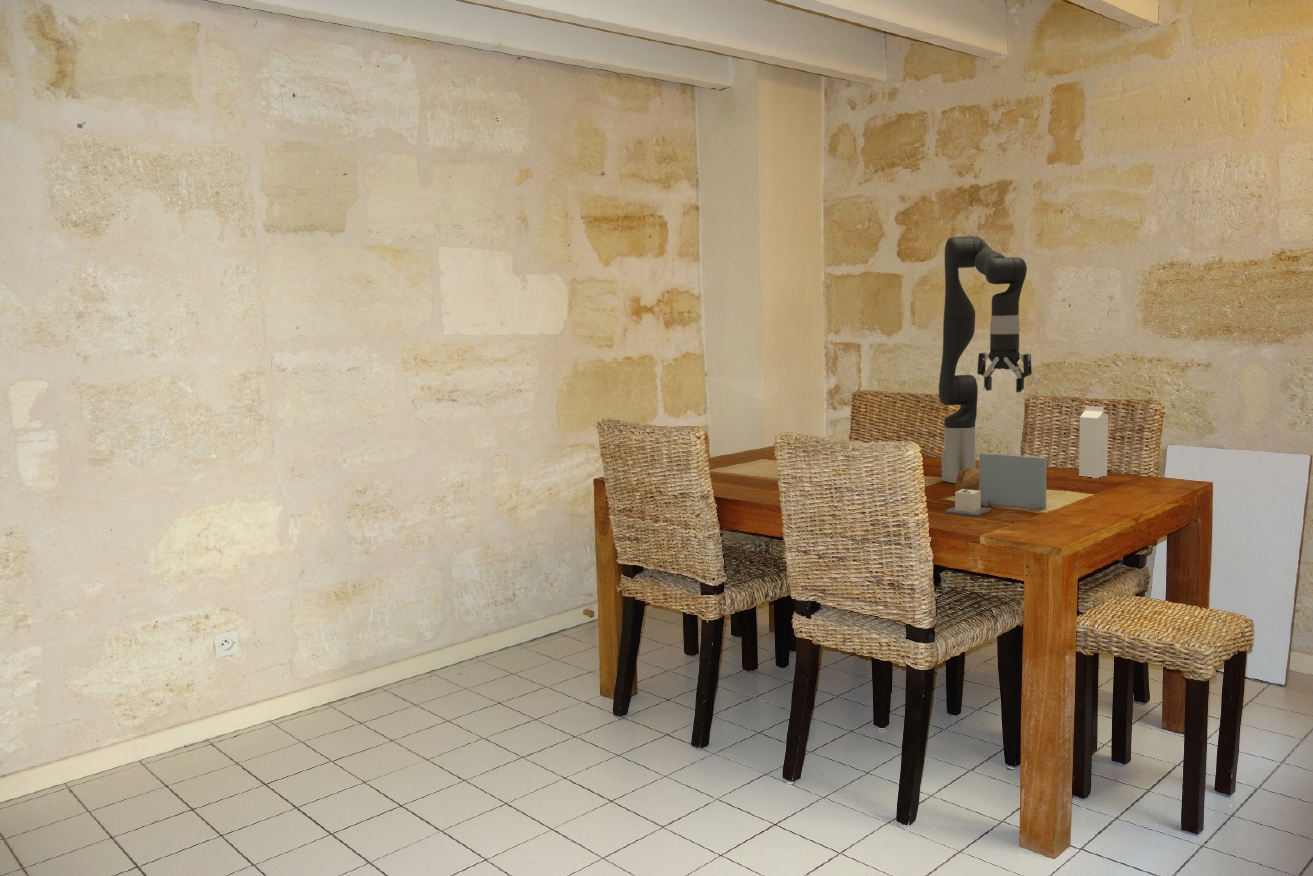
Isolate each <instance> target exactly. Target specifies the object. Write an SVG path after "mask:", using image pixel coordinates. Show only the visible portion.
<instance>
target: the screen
mask: <svg viewBox="0 0 1313 876" xmlns="http://www.w3.org/2000/svg"><path fill="white" fill-rule="evenodd" d="M978 454H979V455H978V459H979V460H978V463H979V464H978V466H979V467H978V468H979V491H981V506H989V505H997V506H1007V507H1017V508H1025V509H1027V508H1028V510H1029V511H1036V512H1038V511H1041V510H1047V461H1048V460H1047V458H1048V457H1045V456H1031V455H1020V454H1019V455H1016V454H1006V453H1005V454H1004V453H1003V454H1002V453H988V452H980V453H978Z"/></svg>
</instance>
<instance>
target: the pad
mask: <svg viewBox="0 0 1313 876" xmlns="http://www.w3.org/2000/svg"><path fill="white" fill-rule="evenodd" d="M991 510H992V508H991V507H982V506H981V509H979V510H977V511H975V512H966V511H957V510H955V506H954V507H951V508H948V509H946V510H944V513H945V514H952V515H957V516H959V515H960V516H966V517H967V516H969V517H976V518H978V517H980V516H982V515H984V514H986V513H988V512H990V511H991Z"/></svg>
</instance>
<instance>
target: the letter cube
mask: <svg viewBox="0 0 1313 876" xmlns="http://www.w3.org/2000/svg"><path fill="white" fill-rule="evenodd" d="M954 501H955V502H954V507H955V510H957V511H966V512H975V511H977V510H979V509H981V507H982V505H981V491H979V490H968V489H962V490H959V491H958V490H957V491H955V492H954Z"/></svg>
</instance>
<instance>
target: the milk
mask: <svg viewBox="0 0 1313 876" xmlns="http://www.w3.org/2000/svg"><path fill="white" fill-rule="evenodd" d="M1108 438H1109V416H1108V414H1106V412H1104V406H1096V405H1095V406H1094V405H1085V406H1084V411H1083V413H1081V415H1080V416H1079V445H1078V446H1079V447H1078V448H1079V449H1078V450H1079V451H1078V456H1079V457H1078V459H1079V460H1078V461H1079V462H1078V464H1079V465H1078V477H1079V476H1087V477H1092V478H1091V479H1096V478H1097V479H1100V478H1099V477H1101V478H1103V477H1102V476H1105V477H1107V476H1108V451H1109V450H1108V447H1109V446H1108V445H1109V443H1108V442H1109V440H1108ZM1087 477H1086V478H1087Z"/></svg>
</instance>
